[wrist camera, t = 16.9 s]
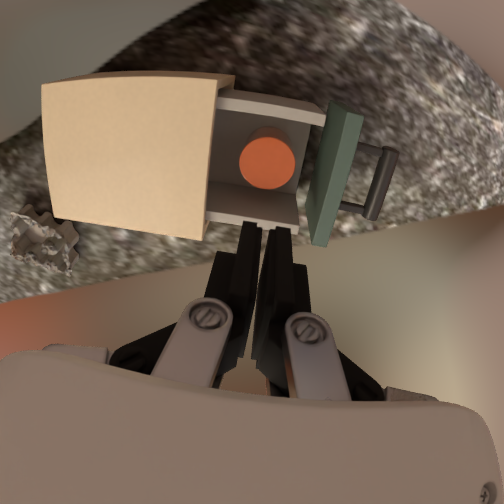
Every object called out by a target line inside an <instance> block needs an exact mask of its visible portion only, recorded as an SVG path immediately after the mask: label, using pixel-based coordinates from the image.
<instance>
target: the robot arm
mask: <svg viewBox="0 0 504 504" xmlns="http://www.w3.org/2000/svg"><path fill="white" fill-rule="evenodd" d="M261 239H262V227H257V223H256V222H250V221H244V220H243V224H242V229H241V234H240V239H239V244H238V249H237V254H234V253H228V252H222V251H217V253H216V256H215V259H214V263H213V267H212V270H211V274H210V277H209V281H208V284H207V288H206V292H205V295H204V298H199V299H196V300H193V301H192V302H190V303H189V304H188V305H187V306H186V308H185V309H184V311H183V313H182V315H181V317H180V319H179V321H178V322H176V323H174V324H172V325H169V326H167V327H165V328H163V329H161V330H158V331H156V332H154V333H151V334H149V335H147V336H145V337H143V338H140V339H138V340H136V341H133V342H131V343H129V344H126V345H124V346H122V347H120V348H119V349H117V350H116V351H108V348H104V347H88V346H75V345H64V344H51V345H48V346H46V347H44V348H43V349H42V350H30V351H20V352H15V353H12V354H9V355H7V356H5V357H4V358H3V359H1V360H0V504H504V493H503V485H502V479H501V472H500V468H499V463H498V458H497V454H496V450H495V446H494V443H493V440H492V437H491V434H490V431H489V429H488V427H487V425H486V423H485V421H484V420H483V418H482V417H481V416H480V415H479V414H478V413H476V412H475V411H473V410H471V409H469V408H466V407H463V406H460V405H457V404H452V403H448V402H441V401H439V400H437V399H436V398H435V397H432V396H429V395H424V394H420V393H415V392H410V391H406V390H401V389H396V388H392V387H388V386H387V387H386V388H385V389H383V388H381V386H380V385H379V384H378V383H377V382H376V381H375V380H374V379H373V378H372V377H370V376H369V375H368V374H367V373H366V372H364V371H363V370H362V369H361V368H359V367H358V366H357V365H356V364H355V363H353V362H352V361H351V360H350V359H349V358H347V357H346V356H345V355H344V354H343V353H341V352H340V351H339V350H338V349H337V347H336V344H335V341H334V337H333V334H332V331H331V328H330V326H329V324H328V323H327V322H326V321H325V320H324V319H323V318H321V317H320V316H318V315H316V314H313V313H311V304H310V294H309V284H308V275H307V267H306V265H302V264H296V263H293V257H292V240H291V228H286V227H280V226H276V228H275V229H270V230H269V235H268V240H267V245H266V249H265V254H264V259H263V264H262V268H261V273H260V278H259V283H258V273H259V261H260V250H261ZM257 283H258V289H257ZM256 294H257V299H256ZM255 301H256V310H255V322H254V332H253V343H252V353H251V359H254V360H257V362H256V369H259V370H260V371H261V372H262V373H263V374H264V375H265V376H266V391H267V396H265V395H256V394H248V393H241V392H234V391H227V390H221V389H220V387H221V384H222V381H223V379H224V373H226V372H228V371H229V370H231V369H233V368H234V367H236V364H237V359H238V357H240V358H243V355H244V350H245V347H246V342H247V337H248V333H249V329H250V324H251V319H252V315H253V310H254V306H255Z"/></svg>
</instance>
